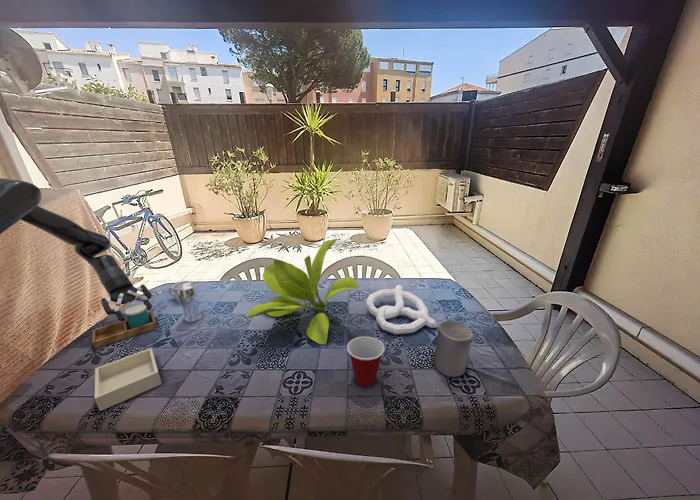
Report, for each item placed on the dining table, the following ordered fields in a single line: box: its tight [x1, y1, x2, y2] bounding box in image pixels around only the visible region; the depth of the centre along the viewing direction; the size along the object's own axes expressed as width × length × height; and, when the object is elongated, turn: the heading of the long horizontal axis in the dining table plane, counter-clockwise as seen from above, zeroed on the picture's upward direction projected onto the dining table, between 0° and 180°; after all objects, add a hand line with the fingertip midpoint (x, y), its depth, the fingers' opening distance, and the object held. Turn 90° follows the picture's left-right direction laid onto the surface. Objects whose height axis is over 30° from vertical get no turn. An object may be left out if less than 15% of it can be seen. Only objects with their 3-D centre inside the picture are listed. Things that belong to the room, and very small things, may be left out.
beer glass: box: [177, 281, 203, 323], centre depth 108 cm, size 7×7×15 cm
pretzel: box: [365, 284, 438, 335], centre depth 112 cm, size 28×24×6 cm
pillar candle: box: [433, 320, 474, 378], centre depth 84 cm, size 10×10×15 cm
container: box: [124, 303, 150, 329], centre depth 102 cm, size 6×6×8 cm
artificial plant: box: [245, 238, 360, 345], centre depth 106 cm, size 42×43×30 cm
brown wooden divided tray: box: [91, 311, 158, 350], centre depth 101 cm, size 18×9×3 cm, turn 131°
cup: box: [167, 280, 192, 303], centre depth 123 cm, size 11×8×8 cm
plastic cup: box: [346, 336, 386, 387], centre depth 79 cm, size 11×11×12 cm
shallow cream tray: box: [94, 347, 162, 412], centre depth 79 cm, size 14×14×5 cm
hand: (137, 314), depth 102 cm, fingers open, 8 cm apart
